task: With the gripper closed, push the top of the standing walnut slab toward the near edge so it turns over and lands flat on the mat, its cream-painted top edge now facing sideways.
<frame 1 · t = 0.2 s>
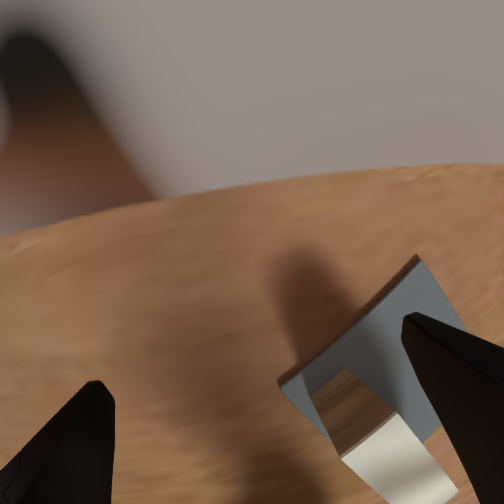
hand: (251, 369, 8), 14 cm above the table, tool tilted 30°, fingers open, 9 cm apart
mat: (400, 382, 22), on the table
slab: (362, 421, 21), point 1 cm above the table, touching mat
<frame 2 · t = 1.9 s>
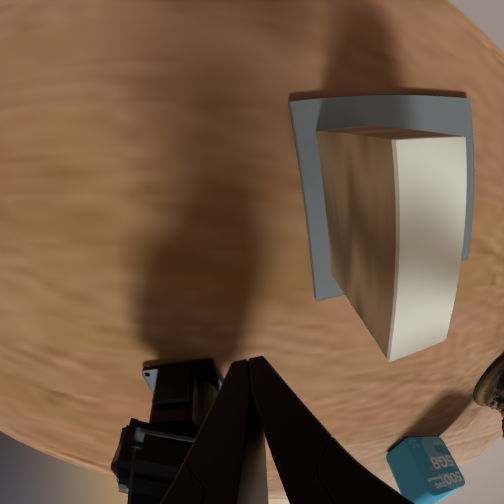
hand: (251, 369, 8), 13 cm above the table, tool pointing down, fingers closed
mat: (401, 191, 20), on the table
data package: (413, 443, 38), on the table
slab: (349, 202, 19), point 1 cm above the table, touching mat
owl figurine: (501, 376, 35), on the table
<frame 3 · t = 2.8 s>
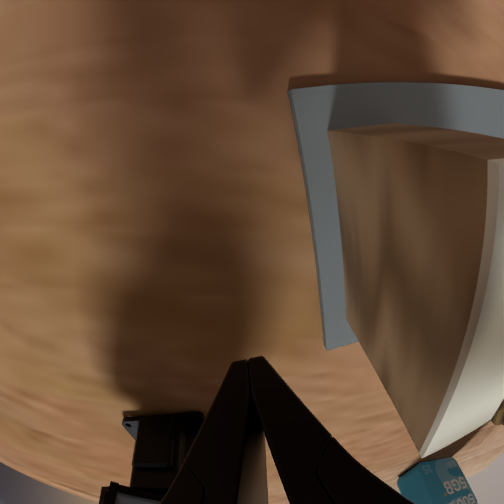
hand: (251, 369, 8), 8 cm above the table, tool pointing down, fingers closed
mat: (435, 209, 15), on the table
data package: (425, 466, 32), on the table
slab: (373, 229, 14), point 1 cm above the table, touching mat
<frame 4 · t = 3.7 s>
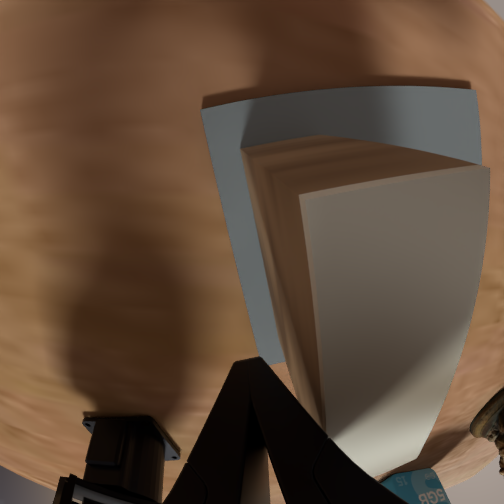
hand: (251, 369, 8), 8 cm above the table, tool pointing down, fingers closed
mat: (377, 224, 15), on the table
data package: (402, 476, 32), on the table
slab: (298, 248, 14), point 1 cm above the table, touching gripper, mat
owl figurine: (502, 405, 29), on the table
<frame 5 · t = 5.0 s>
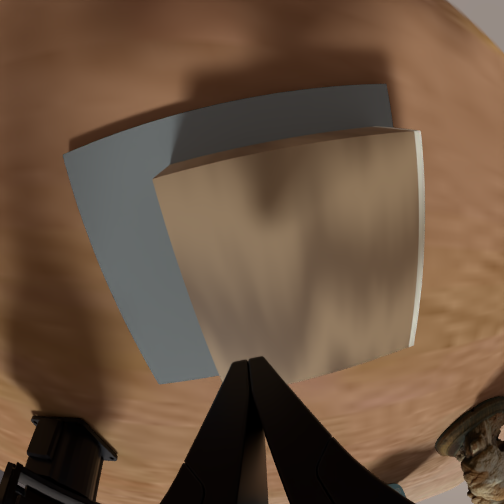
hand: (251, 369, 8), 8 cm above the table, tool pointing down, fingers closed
mat: (255, 251, 15), on the table
data package: (365, 491, 32), on the table
slab: (197, 288, 13), point 2 cm above the table, tilted 90°, touching mat
owl figurine: (474, 423, 29), on the table
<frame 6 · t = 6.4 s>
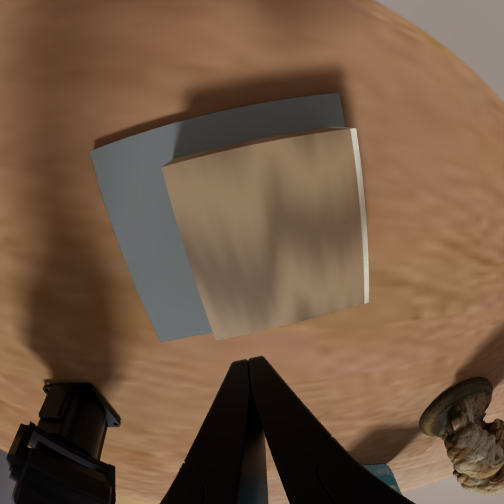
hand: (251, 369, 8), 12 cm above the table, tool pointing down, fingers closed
mat: (237, 226, 19), on the table
data package: (354, 470, 36), on the table
slab: (192, 251, 17), point 2 cm above the table, tilted 90°, touching mat
owl figurine: (458, 405, 33), on the table
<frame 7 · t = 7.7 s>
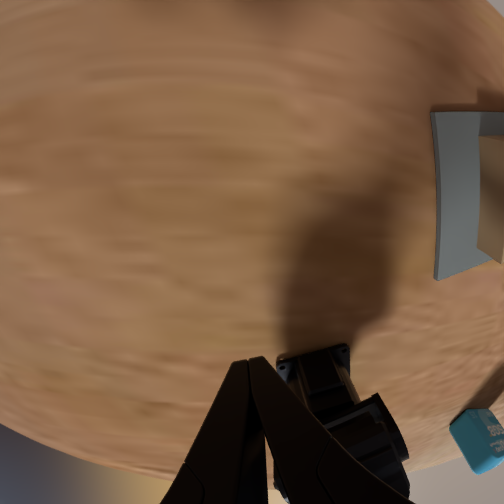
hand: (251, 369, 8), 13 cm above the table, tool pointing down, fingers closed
mat: (493, 188, 21), on the table
data package: (469, 416, 38), on the table
slab: (493, 200, 18), point 2 cm above the table, tilted 90°, touching mat
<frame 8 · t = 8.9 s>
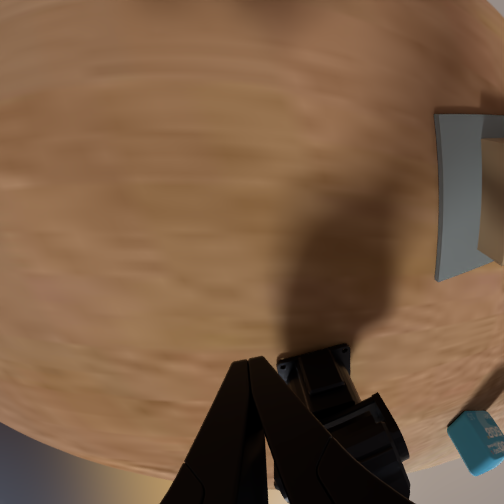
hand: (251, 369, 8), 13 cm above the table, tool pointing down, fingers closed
mat: (494, 191, 21), on the table
data package: (466, 417, 38), on the table
slab: (495, 202, 19), point 2 cm above the table, tilted 90°, touching mat
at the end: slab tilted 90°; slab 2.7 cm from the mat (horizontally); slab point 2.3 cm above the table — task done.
